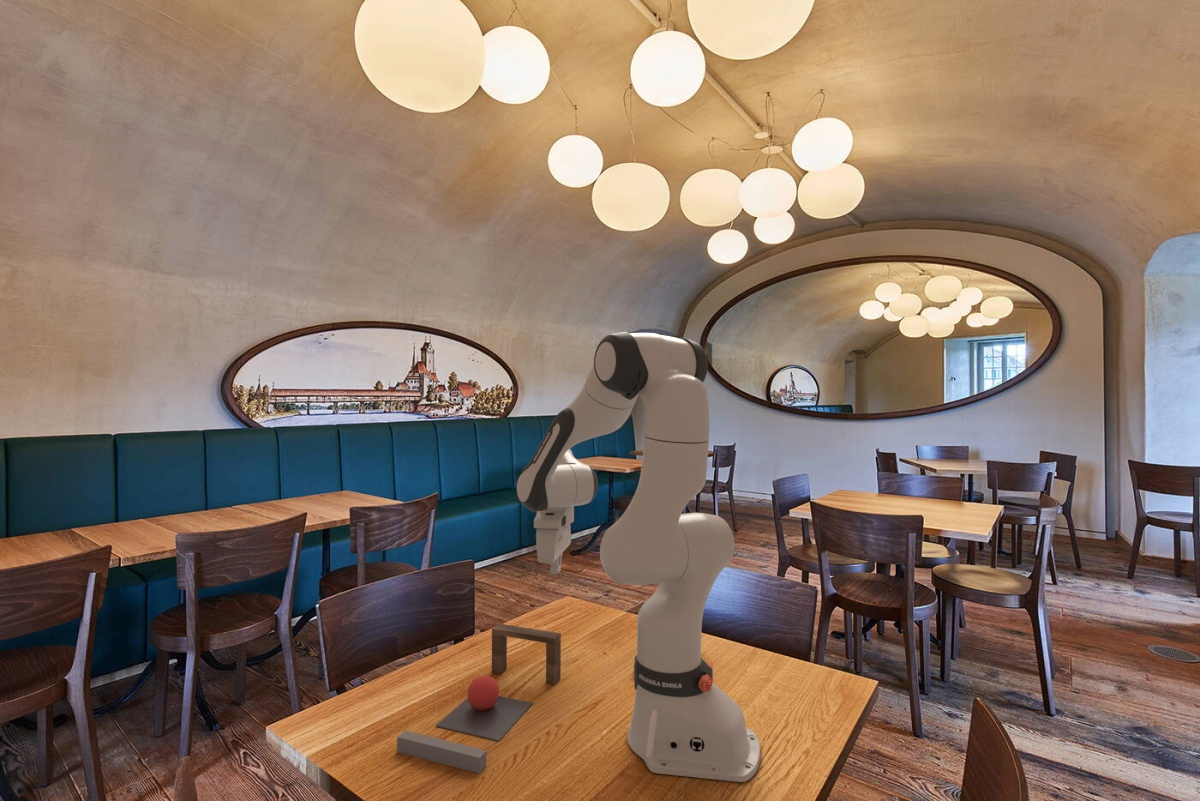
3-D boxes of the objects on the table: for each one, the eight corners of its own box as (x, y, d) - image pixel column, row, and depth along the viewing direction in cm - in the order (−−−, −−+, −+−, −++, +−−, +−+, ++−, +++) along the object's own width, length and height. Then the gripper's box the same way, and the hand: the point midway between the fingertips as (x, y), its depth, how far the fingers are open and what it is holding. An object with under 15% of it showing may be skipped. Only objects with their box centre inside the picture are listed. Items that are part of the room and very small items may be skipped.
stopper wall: (486, 766, 90) (486, 750, 90) (479, 773, 88) (479, 757, 88) (404, 745, 95) (405, 730, 95) (397, 751, 94) (397, 736, 94)
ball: (482, 713, 102) (499, 715, 107) (492, 678, 105) (509, 681, 109) (456, 704, 105) (474, 706, 110) (467, 670, 107) (484, 673, 112)
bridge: (498, 667, 124) (499, 623, 124) (560, 678, 119) (560, 633, 119) (491, 673, 121) (491, 628, 121) (554, 685, 116) (554, 638, 116)
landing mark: (532, 703, 109) (532, 702, 109) (498, 741, 97) (498, 740, 97) (475, 691, 113) (475, 690, 113) (435, 726, 101) (435, 725, 101)
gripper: (552, 507, 145) (553, 560, 145) (531, 522, 125) (531, 584, 125) (576, 507, 144) (576, 561, 144) (559, 522, 124) (559, 585, 124)
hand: (555, 572), depth 134 cm, fingers closed
